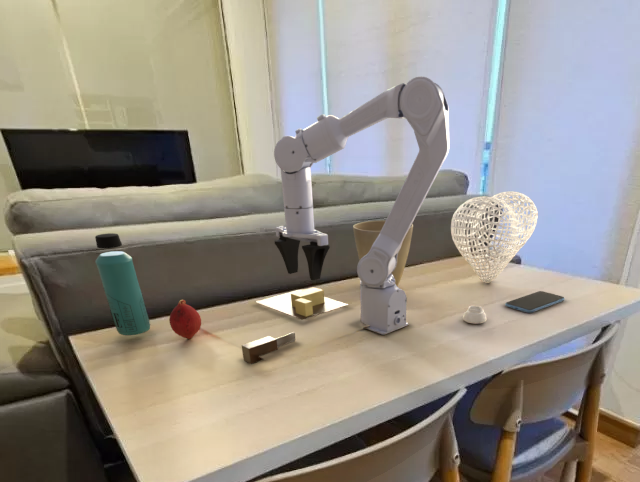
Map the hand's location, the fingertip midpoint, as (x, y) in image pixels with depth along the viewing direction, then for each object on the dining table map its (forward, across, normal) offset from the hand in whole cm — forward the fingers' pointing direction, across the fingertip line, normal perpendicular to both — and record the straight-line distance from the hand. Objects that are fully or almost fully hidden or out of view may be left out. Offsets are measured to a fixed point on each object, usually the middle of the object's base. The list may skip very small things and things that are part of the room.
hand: (303, 276), depth 98 cm
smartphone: (+9, +32, +44) cm, 55 cm away
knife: (+9, +10, -16) cm, 21 cm away
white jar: (+10, +28, +24) cm, 38 cm away
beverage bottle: (+10, -17, -31) cm, 37 cm away
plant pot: (+10, -3, +28) cm, 30 cm away
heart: (+10, +14, +52) cm, 55 cm away
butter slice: (+8, 0, 0) cm, 8 cm away
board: (+9, -7, +4) cm, 12 cm away
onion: (+10, -8, -24) cm, 27 cm away
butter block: (+8, -5, +4) cm, 11 cm away
